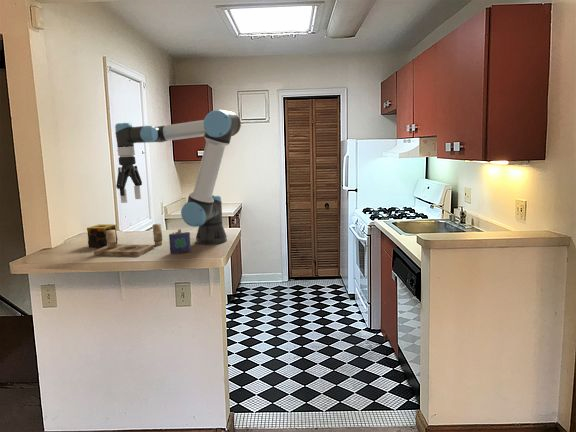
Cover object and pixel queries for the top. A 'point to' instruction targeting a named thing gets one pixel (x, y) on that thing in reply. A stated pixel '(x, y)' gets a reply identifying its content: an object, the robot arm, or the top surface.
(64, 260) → the top surface
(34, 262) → the top surface
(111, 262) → the top surface
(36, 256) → the top surface
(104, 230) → the black and yellow cube
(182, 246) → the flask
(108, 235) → the seat board
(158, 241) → the oak leg
